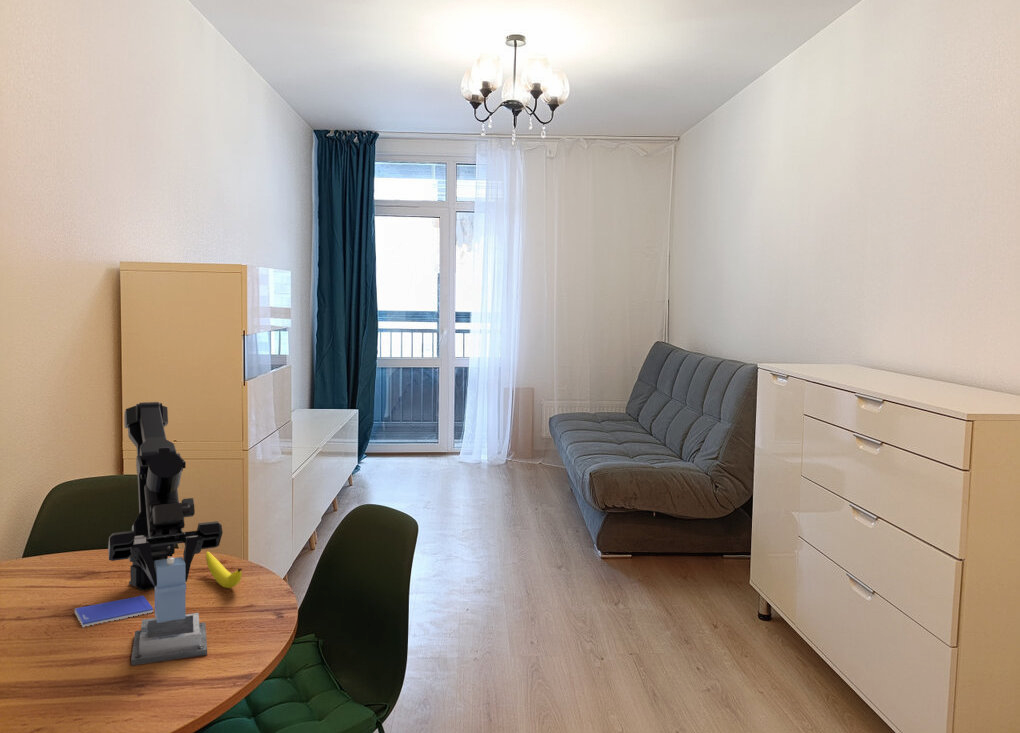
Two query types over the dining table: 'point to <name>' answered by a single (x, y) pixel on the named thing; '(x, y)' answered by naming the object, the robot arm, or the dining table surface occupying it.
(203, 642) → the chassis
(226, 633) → the dining table surface
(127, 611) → the hard drive
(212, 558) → the banana
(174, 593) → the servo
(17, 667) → the dining table surface
